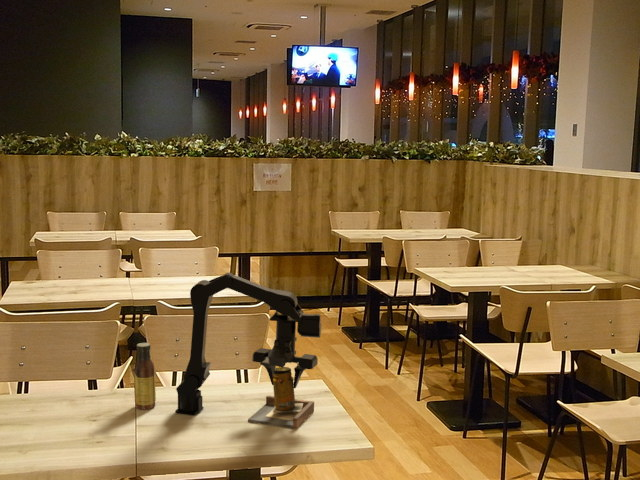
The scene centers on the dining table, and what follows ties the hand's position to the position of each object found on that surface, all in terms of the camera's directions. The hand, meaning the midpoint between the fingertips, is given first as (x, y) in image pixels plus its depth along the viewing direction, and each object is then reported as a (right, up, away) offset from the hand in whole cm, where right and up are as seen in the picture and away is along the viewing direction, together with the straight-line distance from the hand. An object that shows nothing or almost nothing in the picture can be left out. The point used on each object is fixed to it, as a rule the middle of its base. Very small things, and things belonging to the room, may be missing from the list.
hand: (284, 386), depth 236 cm
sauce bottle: (-43, -8, +6) cm, 44 cm away
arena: (-2, -9, 0) cm, 9 cm away
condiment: (+1, -7, 0) cm, 7 cm away
